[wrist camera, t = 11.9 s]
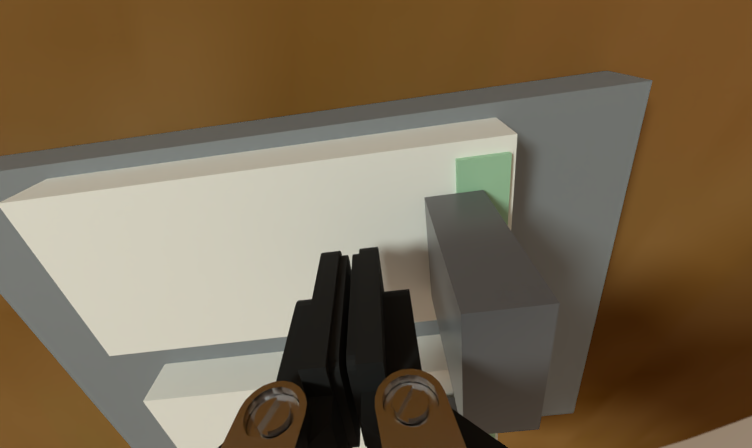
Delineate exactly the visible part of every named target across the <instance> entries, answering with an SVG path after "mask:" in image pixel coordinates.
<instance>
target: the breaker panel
mask: <svg viewBox="0 0 752 448" xmlns="http://www.w3.org/2000/svg"><path fill="white" fill-rule="evenodd" d="M651 84H652V80H648V79H643V78H638V77H634V76H629V75H625V74H620V73H616V72H611V71H602V72H595V73H588V74H581V75H574V76H567V77H560V78H552V79H545V80H538V81H531V82H524V83H517V84H510V85H503V86H496V87H489V88H482V89H474V90H467V91H460V92H453V93H446V94H439V95H432V96H425V97H418V98H411V99H403V100H396V101H389V102H382V103H375V104H368V105H361V106H354V107H347V108H340V109H332V110H325V111H318V112H311V113H304V114H297V115H290V116H283V117H276V118H269V119H262V120H254V121H247V122H240V123H233V124H226V125H219V126H212V127H205V128H198V129H191V130H183V131H176V132H169V133H162V134H155V135H148V136H141V137H134V138H127V139H120V140H112V141H105V142H98V143H91V144H84V145H77V146H70V147H63V148H56V149H49V150H42V151H34V152H27V153H20V154H13V155H6V156H0V294H1V295H2V296H3V297H4V298H5V300H6V301H7V302H8V303H9V304H10V305H11V307H12V308H13V309H14V310H15V311H16V312H17V314H18V315H19V316H20V317H21V318H22V320H23V321H24V322H25V323H26V324H27V325H28V327H29V328H30V329H31V330H32V331H33V332H34V334H35V335H36V336H37V337H38V338H39V339H40V341H41V342H42V343H43V344H44V345H45V347H46V348H47V349H48V350H49V351H50V352H51V354H52V355H53V356H54V357H55V358H56V359H57V361H58V362H59V363H60V364H61V365H62V366H63V368H64V369H65V370H66V371H67V372H68V374H69V375H70V376H71V377H72V378H73V379H74V381H75V382H76V383H77V384H78V385H79V386H80V388H81V389H82V390H83V391H84V392H85V393H86V395H87V396H88V397H89V398H90V399H91V400H92V402H93V403H94V404H95V405H96V406H97V408H98V409H99V410H100V411H101V412H102V413H103V415H104V416H105V417H106V418H107V419H108V420H109V422H110V423H111V424H112V425H113V426H114V427H115V429H116V430H117V431H118V432H119V433H120V435H121V436H122V437H123V438H124V439H125V440H126V442H127V443H128V444H129V445H130V446H131V447H132V448H218V447H219V446H220V445H221V444H222V443H223V442H224V440H225V438H226V436H227V434H228V432H229V430H230V428H231V425H232V423H233V421H234V419H235V417H236V415H237V413H238V411H239V409H240V408H241V406H242V404H243V403H244V401H245V400H246V399H247V398H248V397H249V396H250V395H251V394H252V393H253V392H254V391H256V390H257V389H259V388H260V387H262V386H264V385H266V384H269V383H272V382H276V379H277V375H278V371H279V367H280V364H281V360H282V356H283V352H284V348H285V344H286V340H287V336H288V332H289V328H290V324H291V320H292V316H293V312H294V308H295V305H296V302H297V301H298V300H308V299H312V296H313V291H314V286H315V281H316V276H317V271H318V266H319V261H320V256H321V253H324V252H334V251H341V253H342V256H343V255H348V256H349V260H350V265H351V269H352V255H353V254H359V249H362V248H371V247H378V249H379V256H380V263H381V271H382V278H383V285H384V292H385V291H395V290H404V289H409V291H410V297H411V303H412V310H413V316H414V323H415V329H416V336H417V342H418V349H419V355H420V361H421V368H422V370H423V371H425V372H427V373H429V374H431V375H432V376H434V377H435V378H436V379H437V380H438V381H439V382H440V384H441V385H442V387H443V389H444V390H445V393H446V395H447V398H453V397H454V393H453V389H452V384H451V380H450V376H449V371H448V367H447V362H446V358H445V354H444V349H443V345H442V340H441V336H440V332H439V327H438V323H437V319H436V314H435V310H434V305H433V301H432V297H431V283H430V269H429V255H428V241H427V227H426V214H425V200H424V197H431V196H439V195H447V194H455V193H463V192H471V191H478V190H484V191H485V193H486V194H487V196H488V197H489V199H490V200H491V202H492V203H493V205H494V206H495V208H496V209H497V211H498V212H499V214H500V215H501V217H502V218H503V220H504V221H505V223H506V224H507V226H508V227H509V229H510V230H511V232H512V233H513V234H514V236H515V237H516V239H517V240H518V242H519V243H520V245H521V246H522V248H523V249H524V251H525V252H526V254H527V255H528V257H529V258H530V260H531V261H532V263H533V264H534V266H535V267H536V269H537V270H538V272H539V273H540V275H541V276H542V278H543V279H544V281H545V282H546V283H547V285H548V286H549V288H550V289H551V291H552V292H553V294H554V295H555V297H556V298H557V300H558V301H559V303H560V305H559V311H558V317H557V323H556V330H555V336H554V342H553V348H552V354H551V360H550V366H549V372H548V378H547V385H546V391H545V397H544V403H543V409H542V415H541V416H548V415H558V414H569V413H574V409H575V405H576V400H577V396H578V392H579V388H580V384H581V379H582V375H583V371H584V367H585V362H586V358H587V354H588V350H589V346H590V341H591V337H592V333H593V329H594V324H595V320H596V316H597V312H598V308H599V303H600V299H601V295H602V291H603V286H604V282H605V278H606V274H607V270H608V265H609V261H610V257H611V253H612V248H613V244H614V240H615V236H616V232H617V227H618V223H619V219H620V215H621V210H622V206H623V202H624V198H625V194H626V189H627V185H628V181H629V177H630V172H631V168H632V164H633V160H634V156H635V151H636V147H637V143H638V139H639V134H640V130H641V126H642V122H643V118H644V113H645V109H646V105H647V101H648V96H649V92H650V88H651ZM489 435H491V436H492V437H493V438H495V439H496V440H498V433H493V434H489ZM353 448H367V447H365V444H364V440H363V436H362V432H361V428H360V446H359V447H353Z"/></svg>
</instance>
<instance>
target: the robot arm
mask: <svg viewBox="0 0 752 448" xmlns="http://www.w3.org/2000/svg"><path fill="white" fill-rule="evenodd" d="M360 428H361V432H362V436H363V440H364V444H365V447H367V448H508V447H506V446H505V445H503V444H502V443H500V442H499V441H498V440H496V439H495V438H493V437H492V436H491V435H489V434H488V433H486V432H485V431H483V430H482V429H481V428H479V427H478V426H476V425H475V424H474V423H472V422H471V421H469V420H468V419H466V418H465V417H464V416H462V415H461V414H459V413H458V412H456V411H455V410H454V409H452V408H451V406H450V403H449V401H448V398H447V395H446V393H445V390H444V389H443V387H442V385H441V384H440V382H439V381H438V380H437V379H436V378H435V377H434V376H432V375H431V374H429V373H427V372H425V371H423V370H422V368H421V361H420V355H419V349H418V342H417V336H416V329H415V323H414V316H413V310H412V303H411V297H410V291H409V289H404V290H395V291H385V292H384V285H383V278H382V271H381V263H380V256H379V249H378V247H371V248H362V249H359V254H353V255H352V269H351V265H350V260H349V256H348V255H343V256H342V253H341V251H334V252H324V253H321V256H320V261H319V266H318V271H317V276H316V281H315V286H314V291H313V296H312V299H308V300H298V301H297V302H296V305H295V308H294V312H293V316H292V320H291V324H290V328H289V332H288V336H287V340H286V344H285V348H284V352H283V356H282V360H281V364H280V367H279V371H278V375H277V379H276V382H272V383H269V384H266V385H264V386H262V387H260V388H259V389H257V390H256V391H254V392H253V393H252V394H251V395H250V396H249V397H248V398H247V399H246V400H245V401H244V403H243V404H242V406H241V408H240V409H239V411H238V413H237V415H236V417H235V419H234V421H233V423H232V425H231V428H230V430H229V432H228V434H227V436H226V438H225V440H224V442H223V443H222V444H221V445H220V446H219V447H218V448H353V447H359V446H360Z"/></svg>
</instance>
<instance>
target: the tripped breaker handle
mask: <svg viewBox="0 0 752 448" xmlns="http://www.w3.org/2000/svg"><path fill="white" fill-rule="evenodd" d="M424 200H425V214H426V227H427V241H428V255H429V269H430V283H431V297H432V301H433V305H434V310H435V314H436V319H437V323H438V327H439V332H440V336H441V340H442V345H443V349H444V354H445V358H446V362H447V367H448V371H449V376H450V380H451V384H452V389H453V393H454V397H455V402H456V406H457V411H458V413H459V414H461V415H462V416H464V417H465V418H466V419H468V420H469V421H471V422H472V423H474V424H475V425H476V426H478V427H479V428H481V429H482V430H483V431H485V432H486V433H488V434H493V433H504V432H514V431H525V430H536V429H539V427H540V421H541V415H542V409H543V403H544V397H545V391H546V385H547V378H548V372H549V366H550V360H551V354H552V348H553V342H554V336H555V330H556V323H557V317H558V311H559V305H560V303H559V301H558V300H557V298H556V297H555V295H554V294H553V292H552V291H551V289H550V288H549V286H548V285H547V283H546V282H545V281H544V279H543V278H542V276H541V275H540V273H539V272H538V270H537V269H536V267H535V266H534V264H533V263H532V261H531V260H530V258H529V257H528V255H527V254H526V252H525V251H524V249H523V248H522V246H521V245H520V243H519V242H518V240H517V239H516V237H515V236H514V234H513V233H512V232H511V230H510V229H509V227H508V226H507V224H506V223H505V221H504V220H503V218H502V217H501V215H500V214H499V212H498V211H497V209H496V208H495V206H494V205H493V203H492V202H491V200H490V199H489V197H488V196H487V194H486V193H485V191H484V190H478V191H471V192H463V193H455V194H447V195H439V196H431V197H424Z"/></svg>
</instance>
